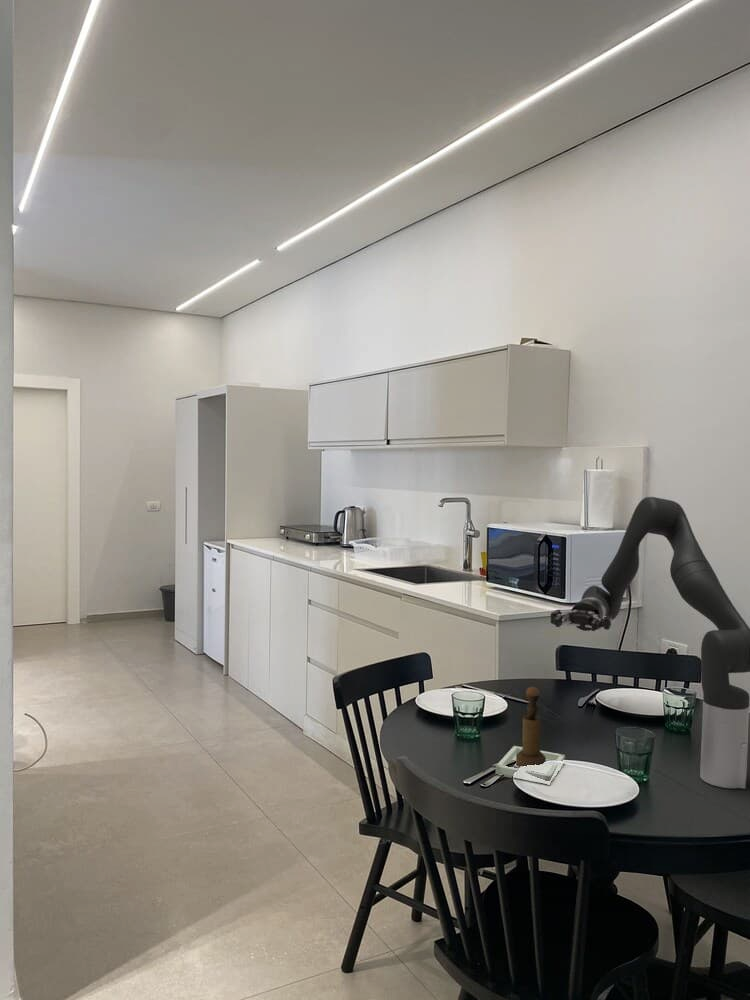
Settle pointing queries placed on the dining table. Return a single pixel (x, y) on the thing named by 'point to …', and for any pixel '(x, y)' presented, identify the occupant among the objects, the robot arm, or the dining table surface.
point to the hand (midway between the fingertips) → (575, 624)
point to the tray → (509, 771)
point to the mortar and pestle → (531, 733)
